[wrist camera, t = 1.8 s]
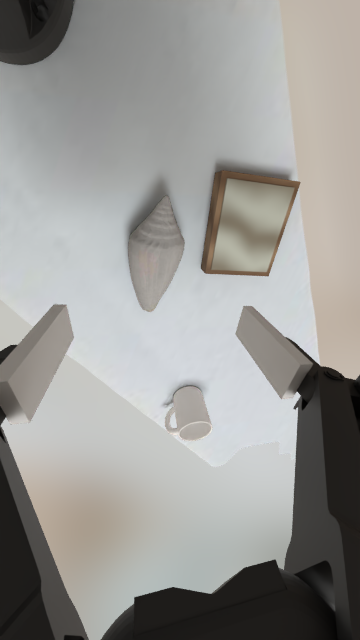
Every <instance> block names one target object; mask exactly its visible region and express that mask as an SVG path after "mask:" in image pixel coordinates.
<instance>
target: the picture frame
mask: <svg viewBox="0 0 360 640" xmlns="http://www.w3.org/2000/svg"><path fill="white" fill-rule="evenodd" d="M299 185H300V182H298V181H291V180H284V179H278V178H271V177H264V176H258V175H251V174H244V173H238V172H231V171H224V170H222V171H219V172H217V173H215V178H214V184H213V191H212V198H211V204H210V211H209V218H208V224H207V231H206V238H205V244H204V251H203V258H202V264H201V269H202V270H203V271H204V273H205V274H228V275H252V276H269V273H270V270H271V267H272V264H273V261H274V258H275V255H276V253H277V250H278V247H279V244H280V241H281V238H282V235H283V232H284V229H285V226H286V223H287V220H288V217H289V214H290V211H291V209H292V206H293V203H294V200H295V197H296V194H297V191H298V188H299Z"/></svg>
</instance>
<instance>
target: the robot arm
mask: <svg viewBox="0 0 360 640" xmlns="http://www.w3.org/2000/svg"><path fill="white" fill-rule="evenodd" d="M73 2H74V0H0V61H2V62H5V63H9V64H17V65H26V64H32V63H36V62H38V61H41V60H43V59H44V58H46V57H48V56H49V55H50V54H51V53H52V52H53V51H54V50H55V49H56V48H57V47H58V45H59V44H60V42H61V41H62V39H63V37H64V35H65V33H66V31H67V28H68V25H69V22H70V18H71V14H72V9H73ZM236 336H237V337H238V338H239V340H240V341H241V343H242V344H243V346H244V347H245V348H246V350H247V351H248V353H249V354H250V355H251V357H252V358H253V360H254V361H255V363H256V364H257V365H258V367H259V368H260V370H261V371H262V372H263V374H264V375H265V377H266V378H267V380H268V381H269V382H270V384H271V385H272V387H273V388H274V389H275V391H276V392H277V394H278V395H279V397H280V398H281V399H289V398H293V397H294V395H295V393H296V392H298V393H299V394H300V395H301V397H300V398H299V400H298V401H297V403H296V405H295V406H294V408H293V409H295V410H296V408H297V407H298V423H297V443H296V465H295V466H296V467H295V484H294V505H293V525H292V537H291V542H290V544H289V547H288V550H287V553H286V558H285V566H284V570H283V569H280V568H278V565H277V562H276V560H272V561H268V562H264V563H261V564H257V565H253V566H249V567H246V568H244V569H242V570H241V571H240V572H238V573H237V574H235V575H234V576H233V577H231V578H230V579H229V580H228V581H226V582H225V583H224V584H222V585H221V586H220V587H219V588H218V589H217V590H215V591H214V592H213V593H212V594H208V593H202V592H197V591H191V590H186V589H180V588H175V587H172V588H168V589H164V590H160V591H157V592H153V593H149V594H145V595H142V596H138V597H135V598H134V604H133V605H132V606H131V607H129V608H128V609H127V610H126V611H124V612H123V613H122V614H121V615H120V616H119V617H118V618H117V619H116V620H115V622H114V623H113V624H112V625H111V627H110V628H109V629H108V630H107V632H106V633H105V634H104V636H103V637H102V639H101V640H360V375H359V376H358V378H357V379H356V380H353V379H348V378H345V377H344V376H343V375H342V374H341V373H339V372H338V371H336V370H334V369H332V368H329V367H321V366H320V365H319V364H318V363H317V362H315V361H314V360H313V359H312V358H311V357H310V356H309V355H308V354H307V353H306V352H304V351H303V350H302V349H301V348H300V347H299V346H298V345H297V344H296V343H295V342H293V341H292V340H290V339H288V338H287V337H284V336H283V335H282V334H281V333H280V332H279V331H278V330H277V329H276V328H275V327H274V326H273V325H272V324H270V323H269V322H268V321H267V320H266V319H265V318H264V317H263V316H262V315H261V314H260V313H259V312H258V311H257V310H256V309H255V308H253V307H252V306H243V310H242V313H241V317H240V320H239V324H238V327H237V330H236ZM73 338H74V335H73V331H72V327H71V323H70V318H69V314H68V310H67V306H66V305H53V306H52V307H51V308H50V309H49V311H48V312H47V313H46V314H45V315H44V316H43V317H42V318H41V320H40V321H39V322H38V323H37V324H36V325H35V326H34V327H33V329H32V330H31V331H30V332H29V333H28V334H27V335H26V337H25V338H24V339H23V340H22V341H21V342H20V343H19V344H18V345H10V346H8V347H7V348H5V349H4V350H2V351H0V425H1V423H2V422H3V420H4V419H5V418H7V420H8V421H9V423H10V424H11V425H12V424H22V423H29V422H30V421H31V419H32V417H33V415H34V414H35V412H36V410H37V407H38V406H39V404H40V402H41V400H42V398H43V396H44V394H45V392H46V391H47V389H48V387H49V384H50V383H51V381H52V379H53V377H54V375H55V373H56V371H57V369H58V367H59V365H60V364H61V362H62V360H63V358H64V356H65V354H66V352H67V350H68V348H69V346H70V344H71V342H72V340H73ZM0 640H89V639H88V637H87V634H86V632H85V629H84V627H83V624H82V622H81V619H80V617H79V615H78V613H77V611H76V608H75V606H74V605H73V603H72V601H71V599H70V598H69V596H68V594H67V591H66V589H65V587H64V584H63V581H62V579H61V577H60V574H59V571H58V569H57V566H56V564H55V561H54V558H53V556H52V553H51V551H50V548H49V546H48V543H47V541H46V538H45V536H44V533H43V531H42V528H41V525H40V523H39V521H38V518H37V515H36V513H35V510H34V508H33V505H32V503H31V500H30V498H29V495H28V493H27V490H26V487H25V485H24V482H23V480H22V477H21V475H20V472H19V469H18V467H17V465H16V462H15V459H14V457H13V454H12V452H11V449H10V447H9V444H8V441H7V439H6V436H5V434H4V431H3V429H2V428H1V426H0Z"/></svg>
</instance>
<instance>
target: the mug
mask: <svg viewBox="0 0 360 640" xmlns="http://www.w3.org/2000/svg"><path fill="white" fill-rule="evenodd" d="M173 402H174V406H173V407H172V408H171V409H170V410H169V411H168V412H167V414H166V417H165V427H166V429H167V431H168V432H169V433H170V434H172V435H178V436H179V438H180V439H182V440H184V441H196V440H199V439H202V438H204V437H206V436H207V435H209V434H210V433H211V431H212V424H211V421H210V418H209V415H208V411H207V408H206V405H205V401H204V398H203V395H202V392H201V391H200V389H198V388H197V387H194V386H186V387H183V388H181V389H179V390H178V391H177V392H176V393H175V394H174V397H173ZM174 412H175V416H176V422H177V428H172V427H171V425H170V417H171V415H172V414H173V413H174Z"/></svg>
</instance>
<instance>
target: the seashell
mask: <svg viewBox="0 0 360 640" xmlns="http://www.w3.org/2000/svg"><path fill="white" fill-rule="evenodd" d="M184 244H185V242H184V238H183V237H182V235H181V232H180V229H179V227H178V225H177V222H176V220H175V218H174V215H173V210H172V207H171V202H170V199H169V196H167V195H166V196H164V197H163V198H162V200H161V201H160V202H159V203H158V204H157V206H156V207H155V208H154V210H153V211H152V212H151V213H150V215H149V216H148V217H146V219H145V220H144V221H143V222H142V223H141V224H140V225H139V226H138V228H137V229H136V230H134V231H133V232H132V233H131V235H130V239H129V243H128V257H129V267H130V273H131V279H132V283H133V286H134V290H135V293H136V296H137V299H138V301H139V304H140V306H141V307H142V309H143V310H146V311H148V312H151V311H153V310H154V309H155V308H156V306H157V304H158V302H159V300H160V299H161V297H162V295H163V294H164V293H165V291H166V289H167V288H168V286H169V284H170V283H171V281H172V279H173V277H174V275H175V272H176V270H177V268H178V265H179V263H180V261H181V258H182V255H183V251H184Z"/></svg>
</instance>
